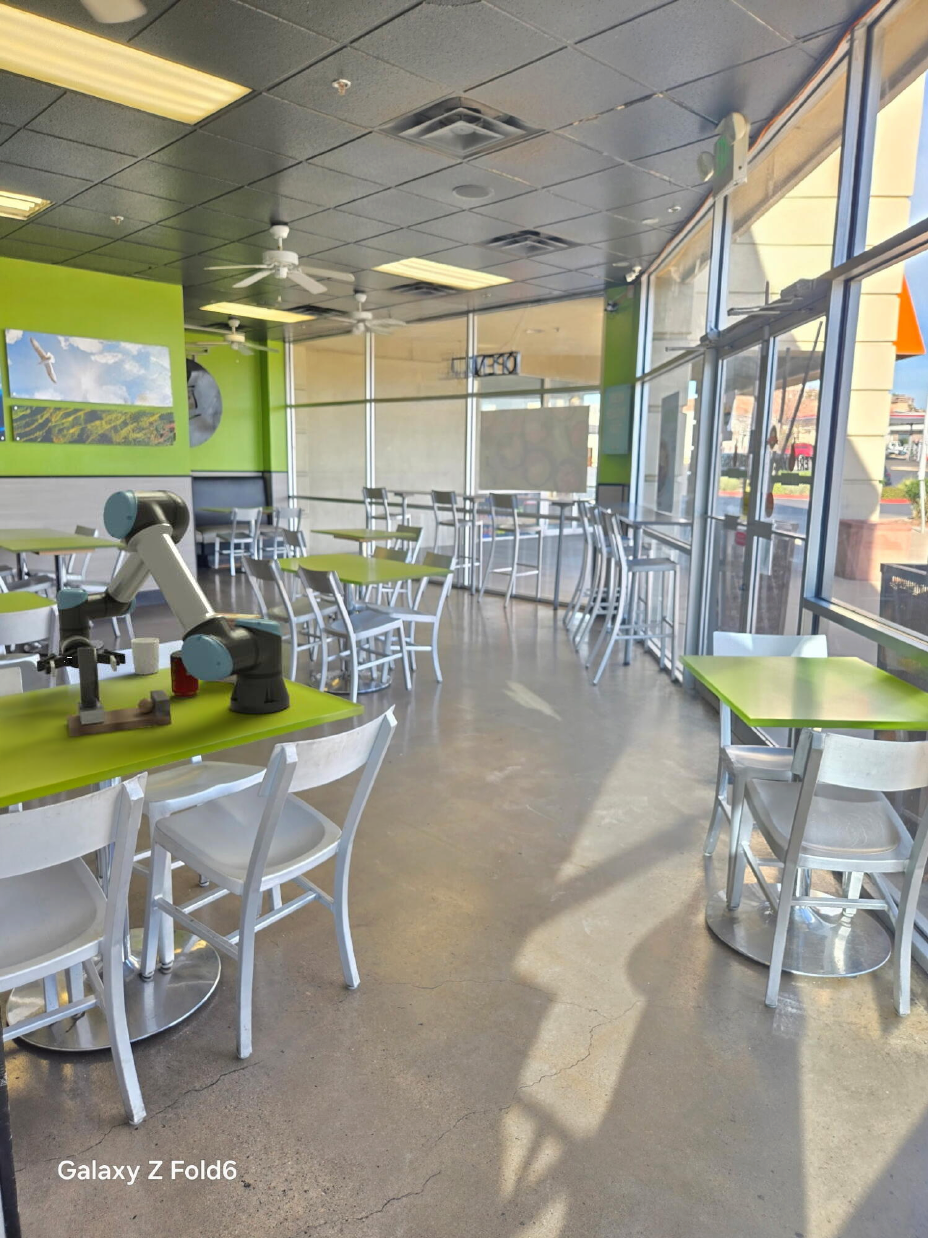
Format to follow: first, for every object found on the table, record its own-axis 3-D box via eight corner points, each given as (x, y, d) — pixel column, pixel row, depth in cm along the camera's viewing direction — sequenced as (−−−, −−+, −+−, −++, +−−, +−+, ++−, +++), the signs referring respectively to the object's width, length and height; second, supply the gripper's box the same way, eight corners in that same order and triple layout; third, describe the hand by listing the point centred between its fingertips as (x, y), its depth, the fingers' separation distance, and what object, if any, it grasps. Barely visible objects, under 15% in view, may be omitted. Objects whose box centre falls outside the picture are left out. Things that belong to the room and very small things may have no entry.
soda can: (204, 693, 221) (202, 650, 218) (187, 699, 214) (184, 655, 212) (184, 690, 223) (181, 647, 221) (166, 697, 217) (163, 653, 214)
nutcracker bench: (163, 712, 203) (162, 689, 202) (171, 723, 193) (170, 699, 192) (67, 723, 192) (65, 699, 191) (70, 736, 183) (68, 711, 182)
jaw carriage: (101, 711, 194) (96, 643, 191) (105, 721, 187) (100, 650, 184) (78, 714, 192) (73, 645, 189) (81, 724, 184) (76, 652, 181)
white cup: (150, 676, 239) (149, 643, 237) (127, 674, 240) (125, 641, 239) (165, 670, 246) (164, 638, 245) (142, 668, 248) (140, 636, 246)
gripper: (129, 661, 220) (140, 678, 201) (26, 670, 207) (27, 689, 189) (127, 634, 218) (138, 649, 200) (23, 642, 206) (25, 658, 188)
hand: (84, 669), depth 195 cm, fingers open, 13 cm apart
